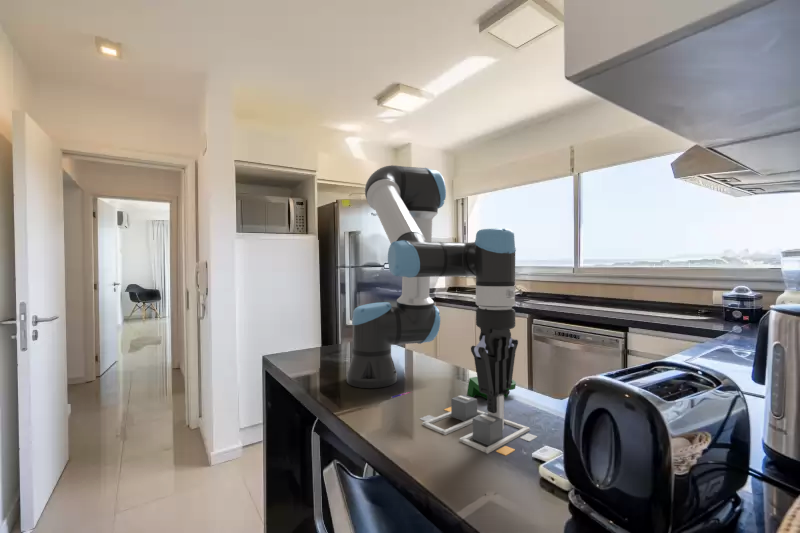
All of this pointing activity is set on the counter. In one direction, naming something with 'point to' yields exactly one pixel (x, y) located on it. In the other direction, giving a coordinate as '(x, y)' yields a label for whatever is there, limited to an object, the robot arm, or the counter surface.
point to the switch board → (466, 439)
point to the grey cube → (487, 429)
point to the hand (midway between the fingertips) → (495, 427)
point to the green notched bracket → (474, 388)
